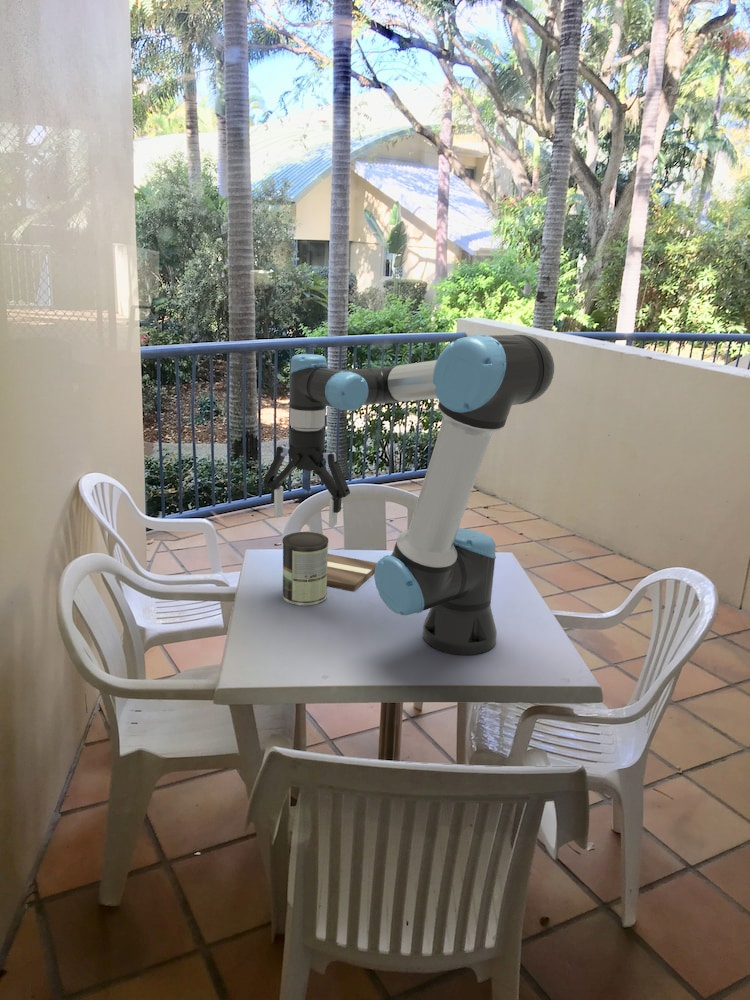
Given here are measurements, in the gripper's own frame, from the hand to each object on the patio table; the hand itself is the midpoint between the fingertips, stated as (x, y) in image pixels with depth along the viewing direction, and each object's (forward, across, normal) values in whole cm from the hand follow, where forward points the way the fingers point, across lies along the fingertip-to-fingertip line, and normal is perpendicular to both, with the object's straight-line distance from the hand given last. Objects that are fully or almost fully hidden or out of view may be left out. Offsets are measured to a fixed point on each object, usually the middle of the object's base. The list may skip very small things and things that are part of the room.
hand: (305, 521), depth 166 cm
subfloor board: (+18, 0, -16) cm, 24 cm away
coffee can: (+18, 0, 0) cm, 19 cm away
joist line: (+17, 0, -17) cm, 24 cm away
